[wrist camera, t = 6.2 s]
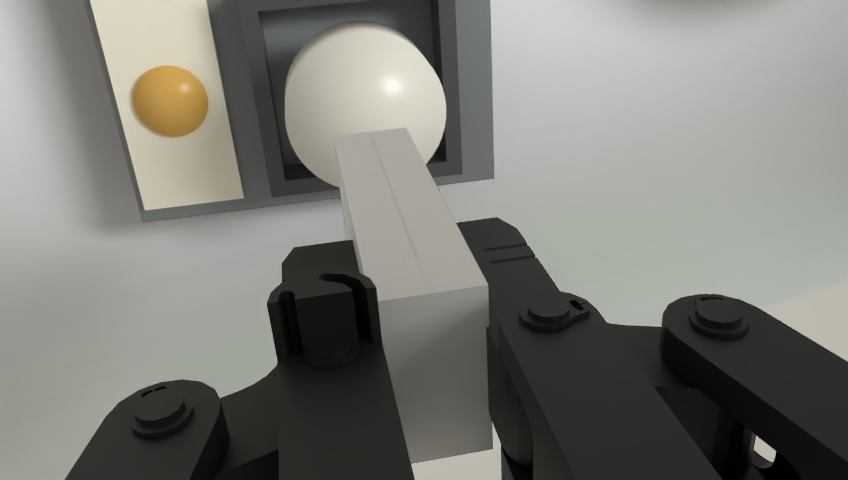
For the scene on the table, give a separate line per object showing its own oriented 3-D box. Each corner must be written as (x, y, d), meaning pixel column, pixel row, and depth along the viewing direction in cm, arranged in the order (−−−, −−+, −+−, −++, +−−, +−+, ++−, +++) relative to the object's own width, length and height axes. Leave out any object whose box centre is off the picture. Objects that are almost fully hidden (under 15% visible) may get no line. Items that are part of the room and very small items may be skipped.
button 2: (428, 13, 21) (441, 26, 19) (437, 157, 23) (449, 181, 21) (273, 28, 21) (272, 43, 19) (296, 174, 23) (297, 200, 21)
